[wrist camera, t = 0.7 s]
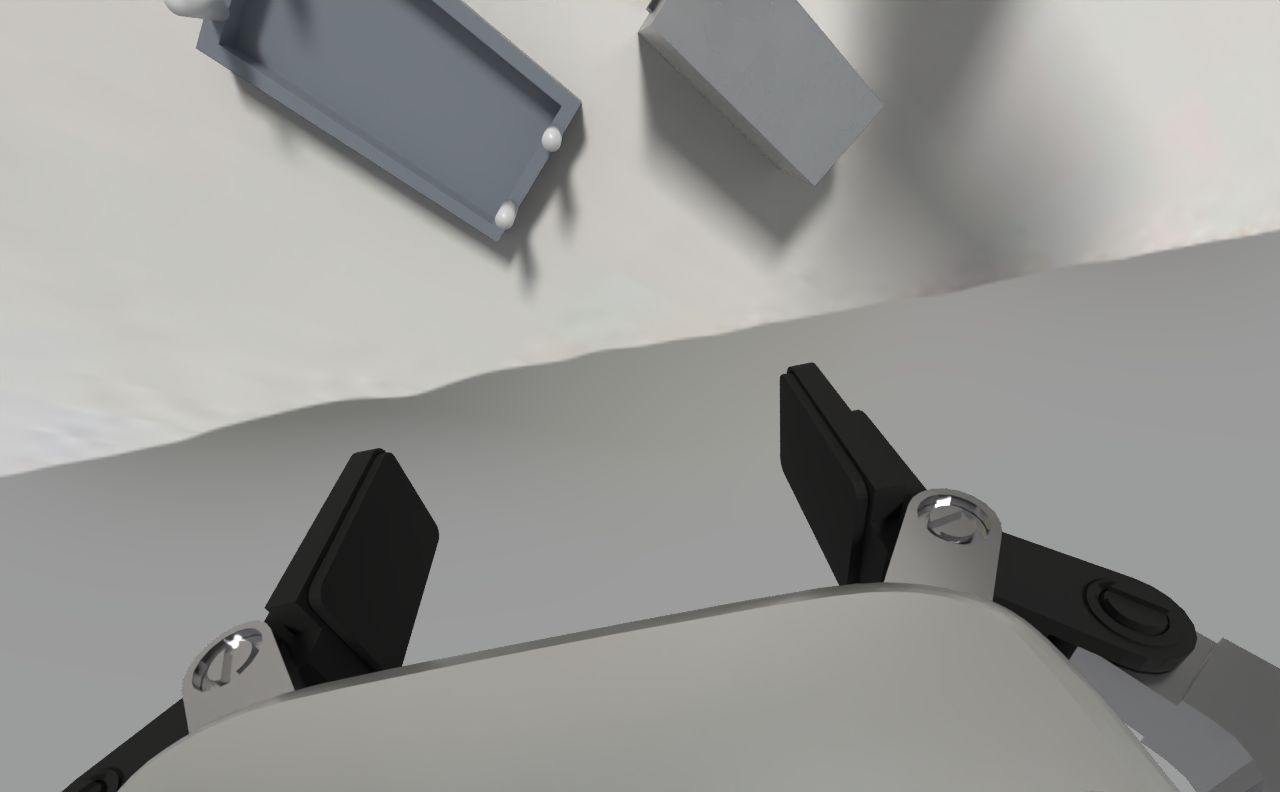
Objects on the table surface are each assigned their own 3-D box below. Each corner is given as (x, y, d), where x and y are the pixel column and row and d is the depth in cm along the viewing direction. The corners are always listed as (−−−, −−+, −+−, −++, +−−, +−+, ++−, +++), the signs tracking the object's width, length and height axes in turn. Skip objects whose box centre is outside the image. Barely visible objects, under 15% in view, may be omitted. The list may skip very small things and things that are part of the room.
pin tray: (277, -154, 23) (208, -205, 18) (582, 101, 30) (583, 107, 25) (219, 48, 26) (150, 44, 22) (502, 233, 33) (492, 258, 29)
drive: (689, -65, 26) (716, -96, 21) (835, 99, 31) (884, 105, 26) (633, 28, 28) (645, 19, 23) (778, 168, 33) (814, 186, 28)
